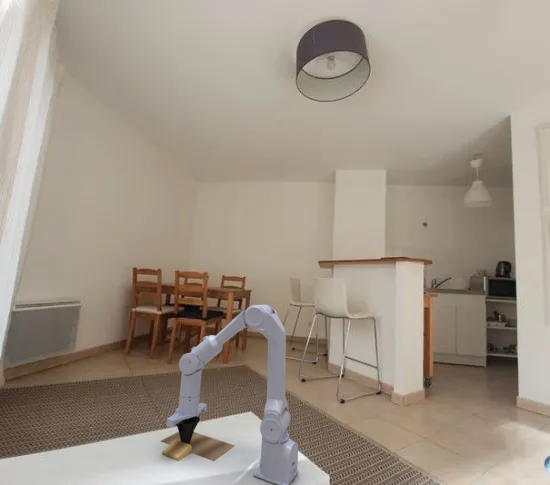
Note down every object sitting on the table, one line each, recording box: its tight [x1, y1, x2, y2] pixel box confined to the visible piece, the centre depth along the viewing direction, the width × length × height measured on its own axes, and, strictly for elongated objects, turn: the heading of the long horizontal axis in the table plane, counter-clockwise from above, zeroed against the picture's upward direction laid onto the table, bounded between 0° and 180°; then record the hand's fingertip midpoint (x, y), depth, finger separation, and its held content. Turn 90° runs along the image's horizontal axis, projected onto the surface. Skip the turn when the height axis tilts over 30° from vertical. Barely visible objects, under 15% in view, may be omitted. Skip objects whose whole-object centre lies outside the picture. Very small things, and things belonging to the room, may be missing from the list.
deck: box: [160, 430, 236, 462], centre depth 92 cm, size 20×10×2 cm, turn 63°
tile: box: [161, 440, 192, 461], centre depth 86 cm, size 6×5×2 cm
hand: (185, 445), depth 89 cm, fingers closed
